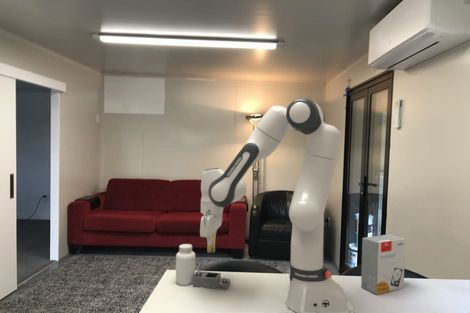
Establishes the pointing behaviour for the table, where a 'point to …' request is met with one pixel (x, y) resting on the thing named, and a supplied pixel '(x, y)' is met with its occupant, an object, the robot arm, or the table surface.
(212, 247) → the pin
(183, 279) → the pill bottle
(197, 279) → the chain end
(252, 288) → the table surface
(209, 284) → the chain end
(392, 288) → the hard drive box
